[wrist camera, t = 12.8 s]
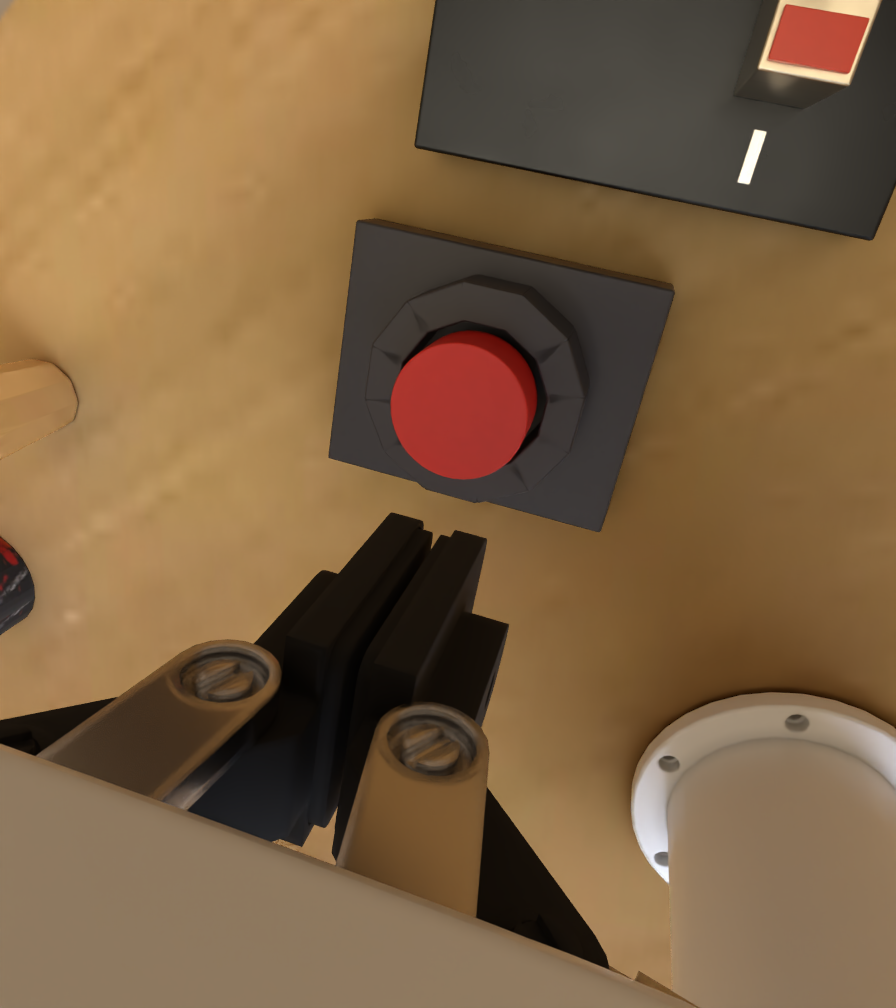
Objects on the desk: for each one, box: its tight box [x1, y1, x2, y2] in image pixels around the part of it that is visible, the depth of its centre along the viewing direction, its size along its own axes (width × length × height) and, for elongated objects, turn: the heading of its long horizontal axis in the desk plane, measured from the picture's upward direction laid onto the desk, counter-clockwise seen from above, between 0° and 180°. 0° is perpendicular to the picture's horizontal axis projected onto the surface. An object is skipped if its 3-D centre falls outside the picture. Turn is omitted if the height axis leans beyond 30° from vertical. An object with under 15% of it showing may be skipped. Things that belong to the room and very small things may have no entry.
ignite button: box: [391, 330, 537, 479], centre depth 24 cm, size 4×4×2 cm
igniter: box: [329, 218, 675, 532], centre depth 26 cm, size 11×9×4 cm
